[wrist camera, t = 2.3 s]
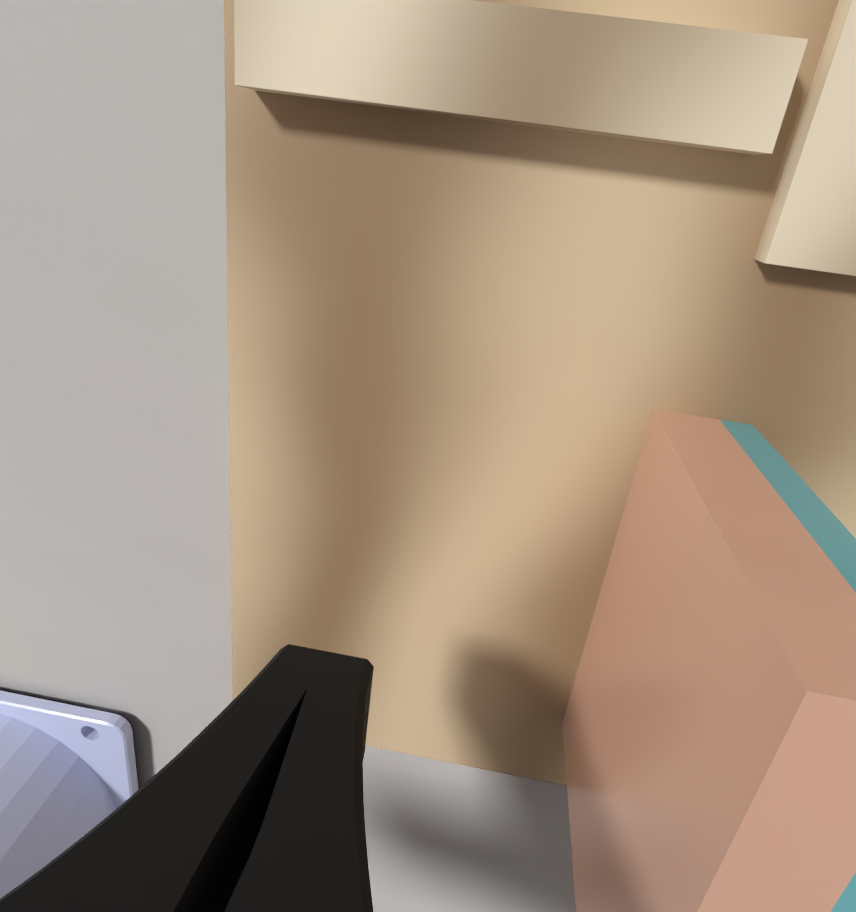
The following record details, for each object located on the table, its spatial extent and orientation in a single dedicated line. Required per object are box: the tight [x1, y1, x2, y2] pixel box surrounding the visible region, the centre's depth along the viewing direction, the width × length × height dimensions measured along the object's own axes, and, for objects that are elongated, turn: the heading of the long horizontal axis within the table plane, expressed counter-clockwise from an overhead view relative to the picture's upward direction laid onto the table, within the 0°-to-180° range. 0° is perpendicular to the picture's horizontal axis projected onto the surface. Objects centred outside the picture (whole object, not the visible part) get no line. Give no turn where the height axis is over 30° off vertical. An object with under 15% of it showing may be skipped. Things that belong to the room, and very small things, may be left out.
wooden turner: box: [234, 0, 856, 276], centre depth 9 cm, size 14×4×1 cm, turn 83°
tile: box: [562, 409, 856, 912], centre depth 10 cm, size 2×8×7 cm, turn 173°
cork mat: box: [224, 0, 856, 786], centre depth 12 cm, size 18×18×1 cm
